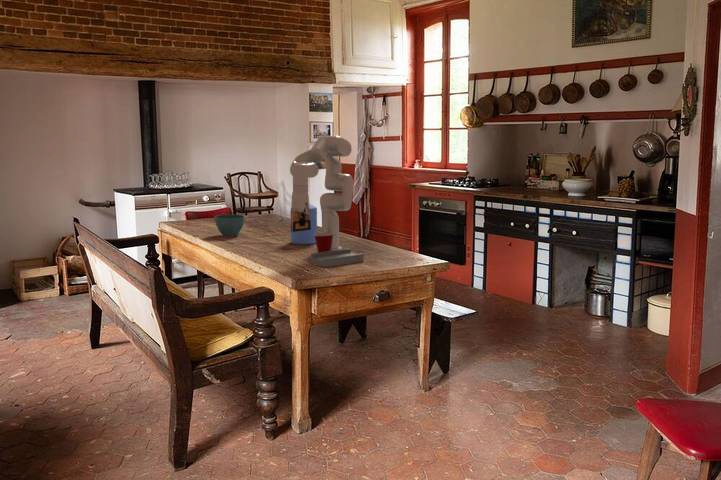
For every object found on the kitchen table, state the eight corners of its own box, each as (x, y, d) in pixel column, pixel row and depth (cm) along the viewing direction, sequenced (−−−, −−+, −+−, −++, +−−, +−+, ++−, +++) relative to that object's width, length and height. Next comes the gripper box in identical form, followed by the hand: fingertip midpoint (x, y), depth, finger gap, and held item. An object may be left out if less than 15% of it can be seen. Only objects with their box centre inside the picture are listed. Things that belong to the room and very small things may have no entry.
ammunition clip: (292, 231, 324) (292, 207, 322) (290, 231, 326) (290, 207, 324) (311, 229, 331) (310, 206, 329) (309, 229, 332) (308, 205, 330)
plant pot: (248, 233, 420) (247, 214, 418) (240, 238, 402) (239, 218, 400) (220, 233, 422) (219, 214, 420) (211, 237, 404) (210, 218, 402)
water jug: (313, 245, 379) (313, 197, 375) (287, 244, 382) (286, 196, 378) (320, 240, 394) (320, 194, 390) (295, 239, 398) (294, 193, 393)
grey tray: (311, 263, 328) (310, 253, 328) (349, 257, 343) (349, 248, 342) (324, 267, 319) (324, 257, 318) (363, 261, 334) (363, 251, 333)
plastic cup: (323, 252, 356) (323, 231, 354) (338, 255, 350) (338, 233, 348) (309, 255, 348) (309, 233, 346) (324, 258, 341) (324, 235, 339)
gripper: (285, 188, 329) (286, 224, 332) (302, 190, 316) (303, 228, 319) (298, 187, 333) (298, 223, 336) (315, 189, 321) (316, 226, 324)
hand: (301, 225), depth 328 cm, fingers closed on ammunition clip, 2 cm apart
